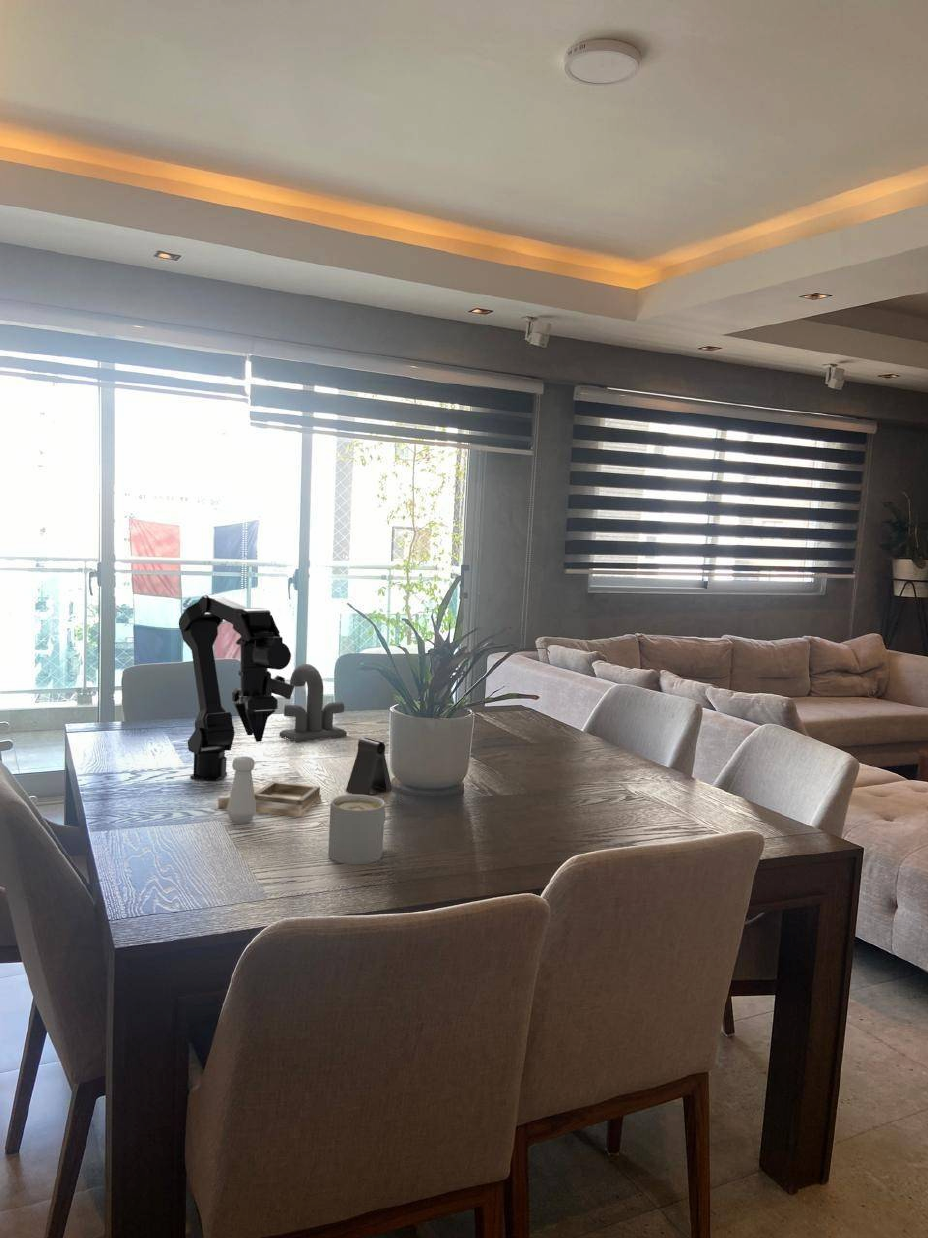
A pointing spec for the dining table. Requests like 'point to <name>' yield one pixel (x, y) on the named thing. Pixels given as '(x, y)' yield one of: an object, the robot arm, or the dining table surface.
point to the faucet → (312, 709)
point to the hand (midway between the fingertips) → (254, 738)
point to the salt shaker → (242, 792)
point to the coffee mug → (356, 829)
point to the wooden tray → (282, 798)
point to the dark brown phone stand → (369, 770)
